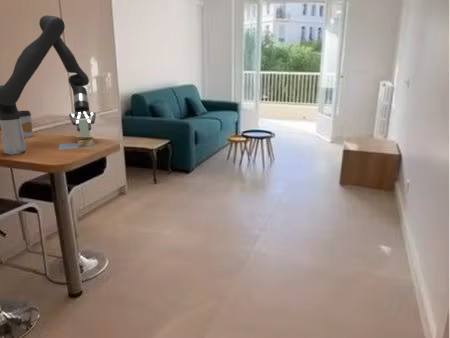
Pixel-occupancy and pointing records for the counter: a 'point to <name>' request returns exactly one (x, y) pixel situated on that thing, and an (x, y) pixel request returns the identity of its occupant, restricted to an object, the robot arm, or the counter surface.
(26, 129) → the coffee cup
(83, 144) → the socket block
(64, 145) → the blueprint board
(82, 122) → the pillar
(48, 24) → the robot arm
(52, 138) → the counter surface
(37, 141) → the counter surface
